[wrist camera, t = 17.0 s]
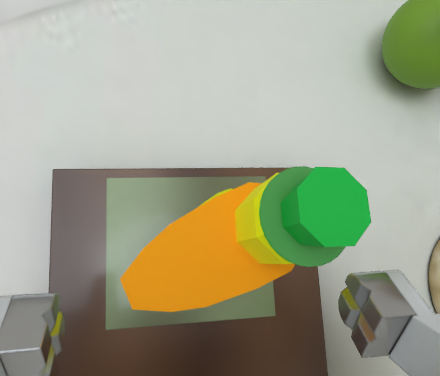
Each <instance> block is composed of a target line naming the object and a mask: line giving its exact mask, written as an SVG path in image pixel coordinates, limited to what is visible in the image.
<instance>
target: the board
mask: <svg viewBox="0 0 440 376" xmlns="http://www.w3.org/2000/svg"><path fill="white" fill-rule="evenodd" d="M286 169H289V168H166V169H53V180H52V210H51V240H50V270H49V294H50V293H57V294H58V295H59V298H60V307H59V311H60V312H62V313H63V316H64V322H65V333H64V343H63V348H62V351H61V352H60V353H59V354H58V355H57V356H56V357H57V361H58V365H59V369H58V374H57V376H328V372H327V361H326V351H325V340H324V330H323V320H322V309H321V299H320V288H319V278H318V268H317V266H314V267H305V266H298V265H296V264H295V266H294V267H293V269H292V270H291V271H290V272H288V273H287V274H285V275H283V276H281V277H279V278H277V279H275V280H273V281H271V282H269V283H267V284H265V285H263V286H261V287H259V288H257V289H255V290H252V291H249V292H247V293H244V294H241V295H238V296H236V297H233V298H230V299H227V300H224V301H222V302H219V303H216V304H213V305H211V306H208V307H203V308H196V309H189V310H182V311H175V312H163V311H147V310H133V309H132V307H131V305H130V302H129V300H128V298H127V295H126V293H125V290H124V288H123V286H122V283H121V281H120V278H121V277H122V275H123V274H124V273H125V272H126V270H127V269H128V268H129V266H130V265H131V264H132V262H133V261H134V260H135V259H136V257H137V256H138V255H139V253H140V252H141V251H142V249H143V248H144V247H145V246H146V245H148V244H149V243H150V242H151V241H152V240H153V239H154V238H155V237H156V236H157V235H159V234H160V233H161V232H162V231H163V230H164V229H165V228H166V227H167V226H168V225H169V224H171V223H173V222H174V221H176V220H178V219H179V218H181V217H183V216H184V215H186V214H188V213H189V212H191V211H193V210H194V209H196V208H198V206H200V205H201V204H202V203H204V202H205V201H206V200H208V199H209V198H211V197H212V196H214V195H215V194H217V193H219V192H221V191H224V190H226V189H230V188H232V189H235V188H237V187H239V186H242V185H244V184H246V183H248V182H253V183H263V182H265V181H266V180H267V179H269V178H270V177H272V176H273V175H274V174H276V173H281V172H282V171H284V170H286Z"/></svg>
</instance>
